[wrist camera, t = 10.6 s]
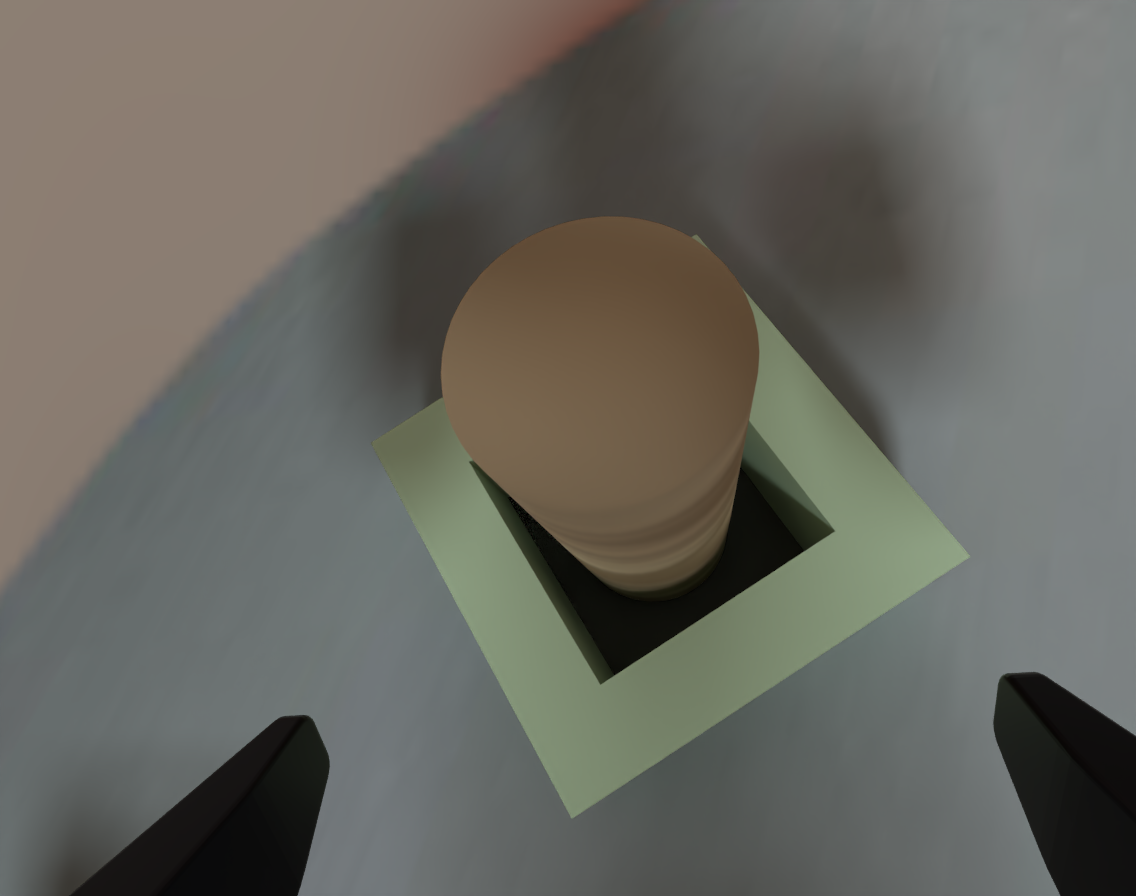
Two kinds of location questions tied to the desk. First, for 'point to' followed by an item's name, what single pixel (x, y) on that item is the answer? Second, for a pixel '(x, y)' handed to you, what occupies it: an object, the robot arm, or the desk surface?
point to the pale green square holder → (714, 643)
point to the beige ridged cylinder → (610, 395)
